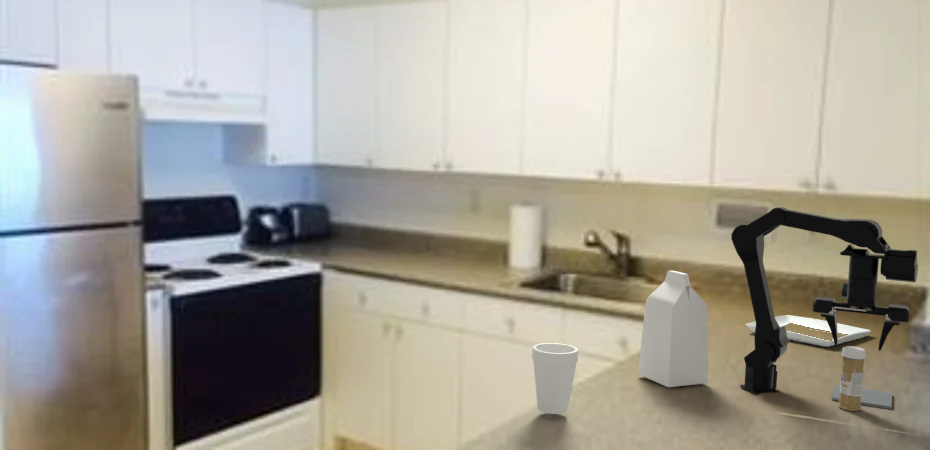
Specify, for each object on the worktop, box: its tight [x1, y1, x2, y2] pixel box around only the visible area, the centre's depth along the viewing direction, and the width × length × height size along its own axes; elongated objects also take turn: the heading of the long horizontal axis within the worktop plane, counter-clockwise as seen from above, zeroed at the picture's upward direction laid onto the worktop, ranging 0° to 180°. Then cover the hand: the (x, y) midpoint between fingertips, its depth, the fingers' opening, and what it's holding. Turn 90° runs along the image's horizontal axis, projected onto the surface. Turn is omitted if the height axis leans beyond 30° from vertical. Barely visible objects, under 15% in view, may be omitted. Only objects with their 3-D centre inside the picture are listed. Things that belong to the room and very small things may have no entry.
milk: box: [637, 270, 709, 388], centre depth 199 cm, size 12×12×26 cm
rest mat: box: [831, 384, 893, 410], centre depth 188 cm, size 12×12×1 cm
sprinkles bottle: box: [838, 345, 866, 412], centre depth 179 cm, size 5×5×14 cm
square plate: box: [744, 314, 872, 348], centre depth 252 cm, size 27×27×4 cm
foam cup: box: [531, 342, 579, 415], centre depth 173 cm, size 10×9×13 cm
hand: (857, 347), depth 181 cm, fingers open, 8 cm apart
